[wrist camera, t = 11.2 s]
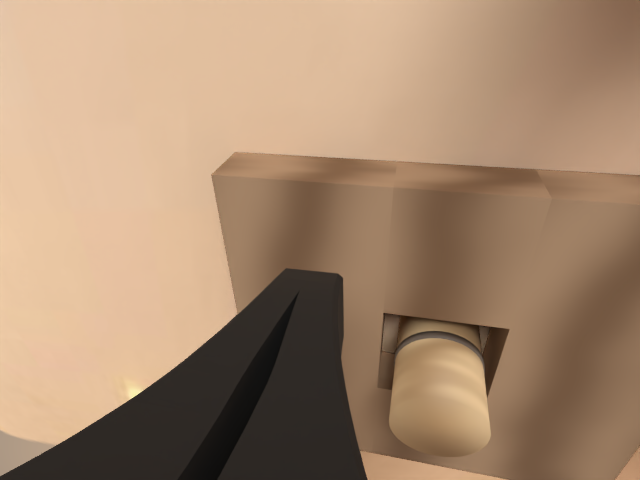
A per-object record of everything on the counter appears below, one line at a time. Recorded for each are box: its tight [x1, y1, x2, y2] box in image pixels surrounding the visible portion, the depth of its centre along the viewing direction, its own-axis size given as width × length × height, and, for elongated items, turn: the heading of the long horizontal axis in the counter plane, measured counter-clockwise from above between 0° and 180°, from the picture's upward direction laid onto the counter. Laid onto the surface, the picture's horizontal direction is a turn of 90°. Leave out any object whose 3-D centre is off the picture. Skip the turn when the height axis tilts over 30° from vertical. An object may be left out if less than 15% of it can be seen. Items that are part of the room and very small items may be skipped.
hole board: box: [212, 152, 640, 480], centre depth 20 cm, size 20×18×2 cm
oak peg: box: [389, 315, 491, 457], centre depth 19 cm, size 4×4×6 cm
